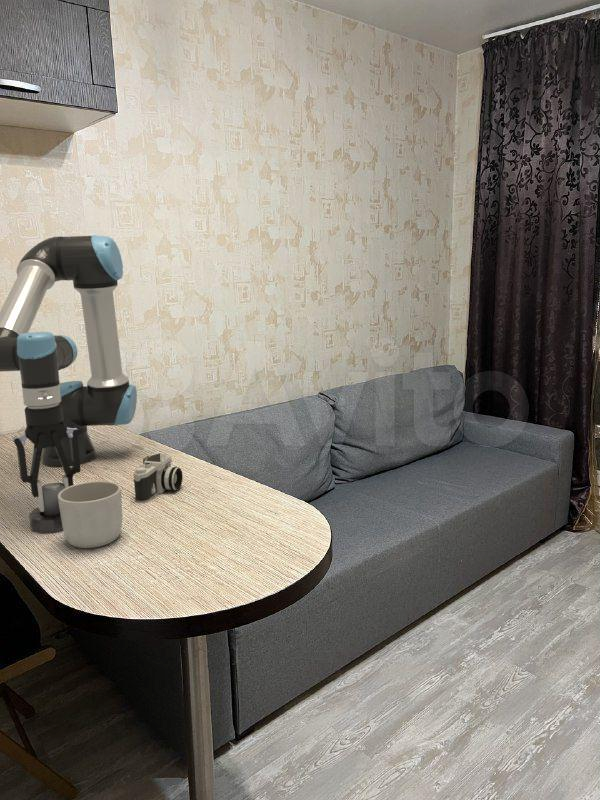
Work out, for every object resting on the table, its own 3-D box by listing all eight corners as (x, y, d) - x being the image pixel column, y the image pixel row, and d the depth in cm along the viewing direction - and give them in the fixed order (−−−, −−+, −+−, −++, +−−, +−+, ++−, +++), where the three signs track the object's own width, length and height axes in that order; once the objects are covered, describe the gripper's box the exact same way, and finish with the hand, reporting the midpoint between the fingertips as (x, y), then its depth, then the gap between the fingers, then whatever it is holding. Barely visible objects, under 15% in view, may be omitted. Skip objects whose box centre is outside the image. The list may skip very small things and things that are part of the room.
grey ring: (27, 520, 141) (26, 508, 140) (75, 510, 146) (74, 498, 145) (35, 537, 132) (34, 524, 131) (86, 525, 137) (85, 513, 137)
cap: (41, 511, 139) (38, 484, 138) (64, 506, 141) (61, 480, 140) (45, 518, 135) (42, 491, 133) (69, 512, 137) (66, 486, 136)
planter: (76, 527, 137) (71, 480, 134) (132, 527, 136) (128, 480, 134) (53, 553, 124) (47, 502, 122) (114, 553, 124) (109, 502, 122)
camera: (162, 505, 148) (159, 465, 146) (129, 503, 150) (126, 463, 148) (189, 482, 163) (186, 446, 161) (159, 480, 165) (156, 444, 163)
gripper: (-1, 414, 125) (13, 521, 130) (90, 402, 134) (99, 503, 140) (-5, 407, 132) (8, 510, 137) (81, 396, 141) (91, 493, 146)
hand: (54, 506), depth 138 cm, fingers closed on cap, 5 cm apart
